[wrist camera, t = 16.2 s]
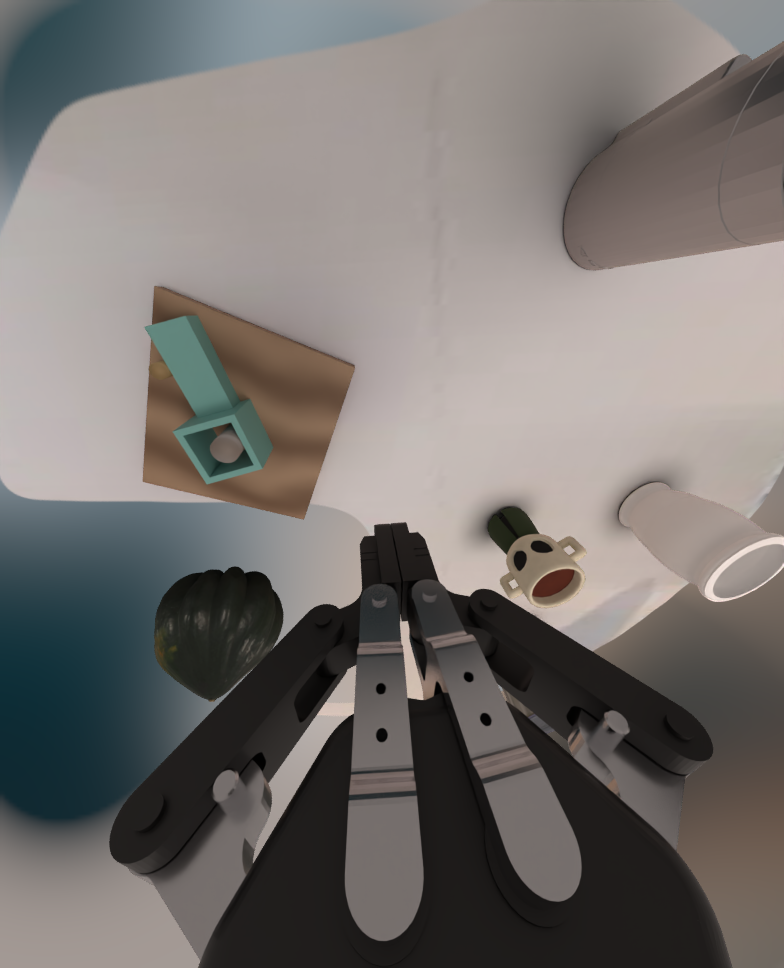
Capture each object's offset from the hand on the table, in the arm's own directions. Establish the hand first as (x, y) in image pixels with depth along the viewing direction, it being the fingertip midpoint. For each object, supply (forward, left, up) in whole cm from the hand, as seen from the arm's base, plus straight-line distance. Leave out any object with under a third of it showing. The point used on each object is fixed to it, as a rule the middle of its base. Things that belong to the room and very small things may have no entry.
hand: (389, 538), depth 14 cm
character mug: (+9, +27, -24) cm, 37 cm away
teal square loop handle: (+4, -14, -22) cm, 27 cm away
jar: (-1, +48, -24) cm, 54 cm away
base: (+6, -11, -24) cm, 27 cm away
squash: (+32, -8, -24) cm, 41 cm away
